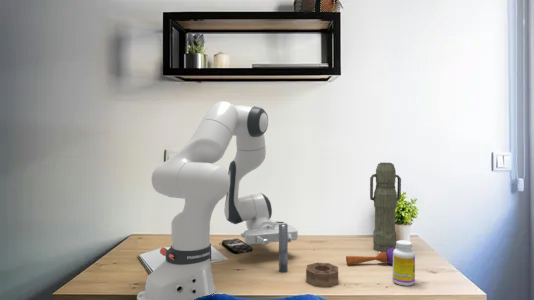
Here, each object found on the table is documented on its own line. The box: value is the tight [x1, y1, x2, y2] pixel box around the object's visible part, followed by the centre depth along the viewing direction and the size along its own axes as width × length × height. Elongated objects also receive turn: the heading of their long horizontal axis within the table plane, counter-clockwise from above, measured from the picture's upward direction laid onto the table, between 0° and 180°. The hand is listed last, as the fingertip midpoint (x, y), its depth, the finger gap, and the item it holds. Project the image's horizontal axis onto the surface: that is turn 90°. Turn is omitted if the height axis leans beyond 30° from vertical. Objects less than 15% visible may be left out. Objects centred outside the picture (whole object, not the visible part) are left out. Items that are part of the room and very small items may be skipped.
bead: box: [305, 262, 339, 288], centre depth 123 cm, size 10×10×4 cm
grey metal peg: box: [278, 223, 289, 273], centre depth 132 cm, size 3×3×16 cm
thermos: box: [369, 162, 402, 253], centre depth 155 cm, size 9×12×35 cm
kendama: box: [345, 247, 397, 266], centre depth 138 cm, size 6×6×20 cm
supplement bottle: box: [392, 239, 416, 287], centre depth 122 cm, size 7×7×13 cm
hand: (277, 241), depth 137 cm, fingers open, 8 cm apart
